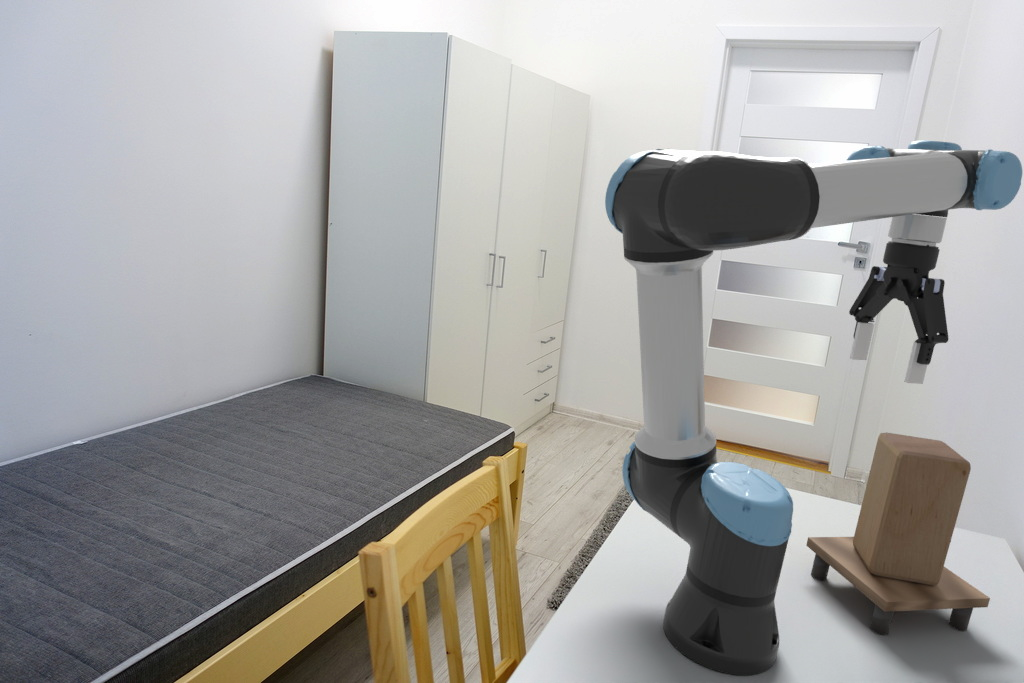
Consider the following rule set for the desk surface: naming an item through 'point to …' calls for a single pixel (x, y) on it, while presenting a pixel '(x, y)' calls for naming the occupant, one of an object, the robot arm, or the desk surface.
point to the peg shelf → (895, 586)
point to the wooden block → (910, 507)
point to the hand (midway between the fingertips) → (884, 370)
